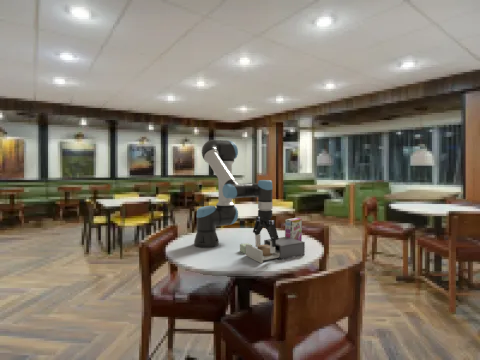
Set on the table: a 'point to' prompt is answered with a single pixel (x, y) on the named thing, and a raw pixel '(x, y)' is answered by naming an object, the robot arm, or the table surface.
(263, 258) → the cream pull-out drawer
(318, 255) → the table surface
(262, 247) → the brown flattened rounded piece
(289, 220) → the candy bar box
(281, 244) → the housing
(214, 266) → the table surface
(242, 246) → the pale green block
